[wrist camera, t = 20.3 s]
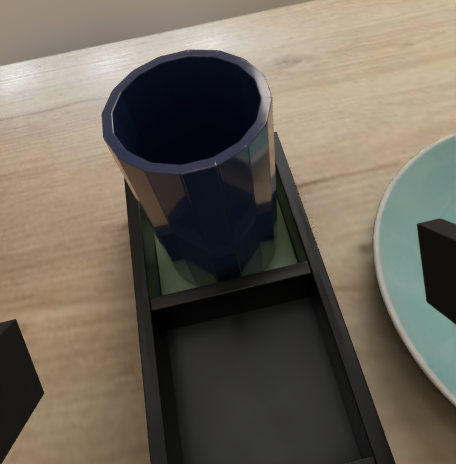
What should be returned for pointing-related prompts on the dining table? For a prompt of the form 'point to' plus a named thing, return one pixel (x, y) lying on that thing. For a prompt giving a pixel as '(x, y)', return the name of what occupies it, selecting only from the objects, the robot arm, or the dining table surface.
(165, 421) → the tray
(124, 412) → the dining table surface
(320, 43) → the dining table surface
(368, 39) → the dining table surface
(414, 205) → the plate
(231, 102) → the cup
